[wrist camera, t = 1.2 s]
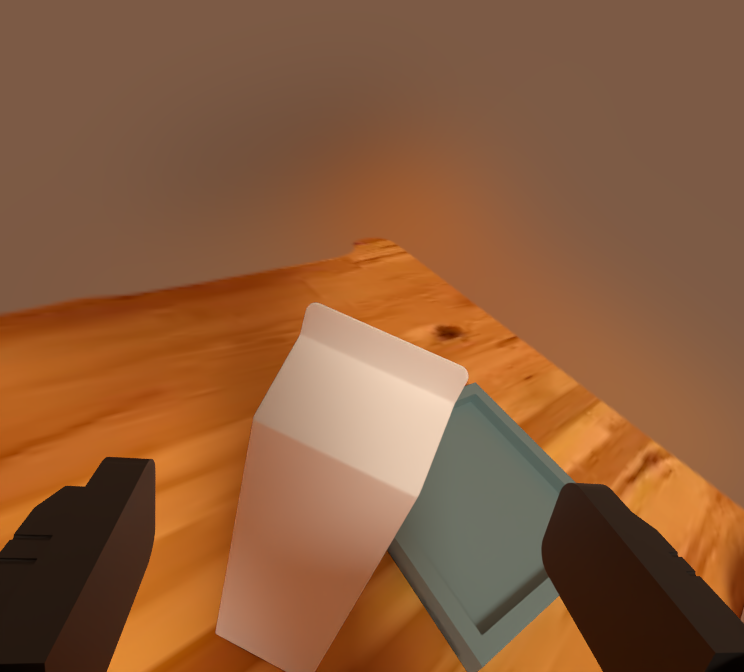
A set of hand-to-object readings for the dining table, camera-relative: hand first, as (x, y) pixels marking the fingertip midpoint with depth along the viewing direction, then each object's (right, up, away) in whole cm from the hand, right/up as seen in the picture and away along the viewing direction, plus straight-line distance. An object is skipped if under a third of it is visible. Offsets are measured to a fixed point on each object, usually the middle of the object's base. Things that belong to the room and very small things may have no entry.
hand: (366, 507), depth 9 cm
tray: (+8, -10, +29) cm, 32 cm away
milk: (-5, -13, +20) cm, 24 cm away
